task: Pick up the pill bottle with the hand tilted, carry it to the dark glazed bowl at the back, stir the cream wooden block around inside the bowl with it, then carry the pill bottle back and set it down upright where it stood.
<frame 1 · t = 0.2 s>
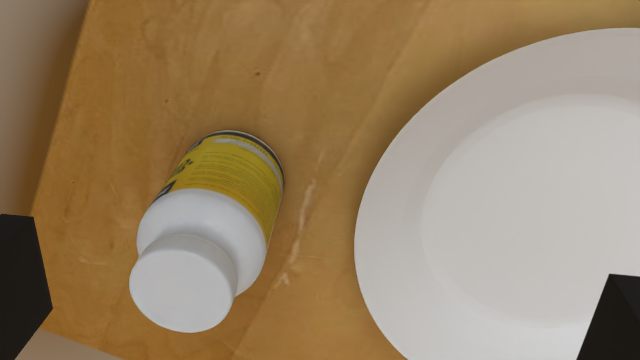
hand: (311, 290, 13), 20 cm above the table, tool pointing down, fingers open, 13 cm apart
white plate: (555, 217, 35), on the table
pill bottle: (236, 173, 35), on the table
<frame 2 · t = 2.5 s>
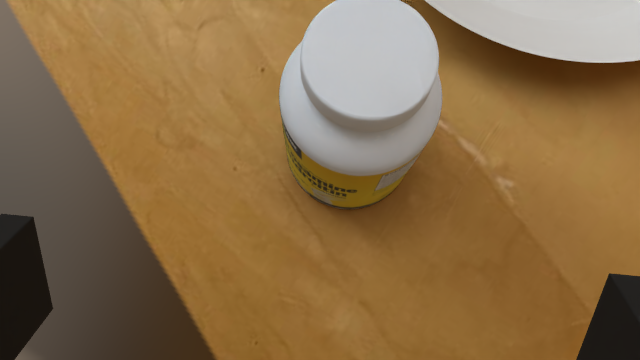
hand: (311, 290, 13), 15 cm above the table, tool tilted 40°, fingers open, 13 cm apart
pill bottle: (347, 154, 30), on the table
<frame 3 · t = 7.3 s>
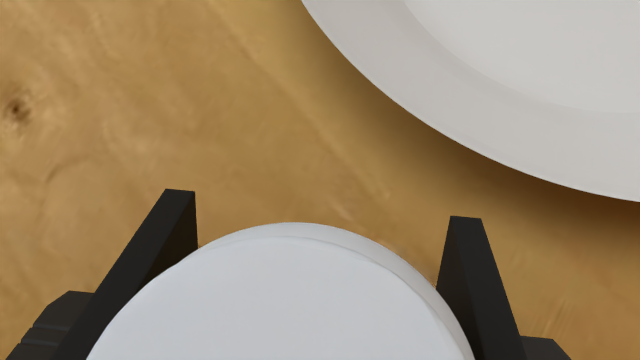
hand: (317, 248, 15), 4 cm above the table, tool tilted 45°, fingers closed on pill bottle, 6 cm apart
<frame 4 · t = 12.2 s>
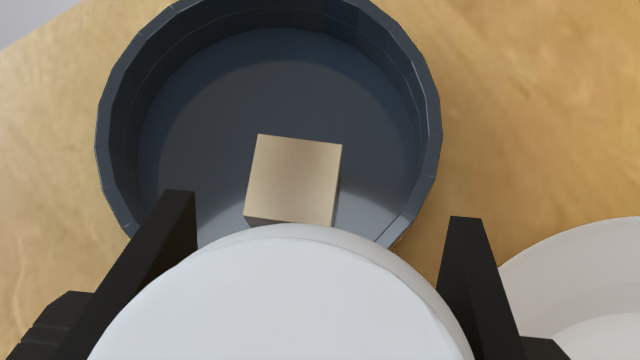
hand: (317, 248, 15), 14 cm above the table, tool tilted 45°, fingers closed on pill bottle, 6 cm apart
glazed bowl: (276, 153, 31), on the table
block: (298, 201, 29), point 1 cm above the table, touching glazed bowl
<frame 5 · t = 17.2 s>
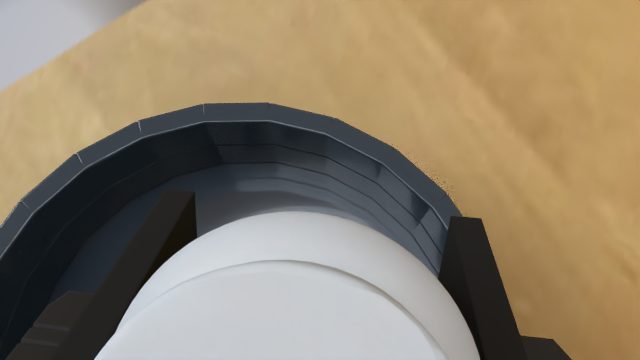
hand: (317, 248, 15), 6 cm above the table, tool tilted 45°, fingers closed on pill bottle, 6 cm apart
pill bottle: (312, 340, 17), point 3 cm above the table, touching block, gripper
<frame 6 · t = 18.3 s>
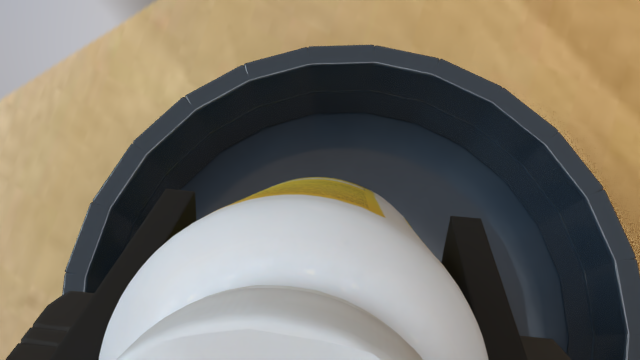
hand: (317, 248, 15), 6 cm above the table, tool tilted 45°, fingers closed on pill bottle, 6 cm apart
glazed bowl: (346, 313, 20), on the table
pill bottle: (321, 278, 17), point 3 cm above the table, touching gripper
when the fingers open (4 cm above the table, at t = 27.7 s): pill bottle stays where it is, on the table.
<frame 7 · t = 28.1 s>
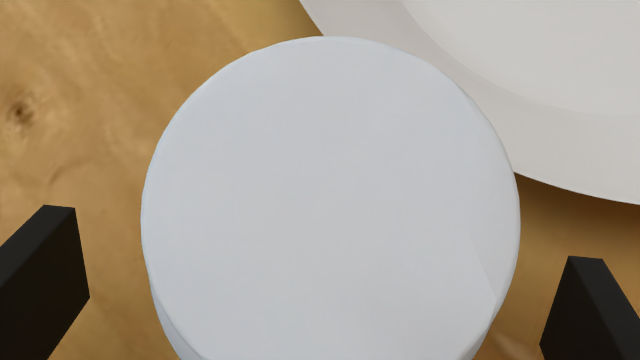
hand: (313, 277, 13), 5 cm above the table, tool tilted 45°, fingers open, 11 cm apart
pill bottle: (322, 278, 18), on the table
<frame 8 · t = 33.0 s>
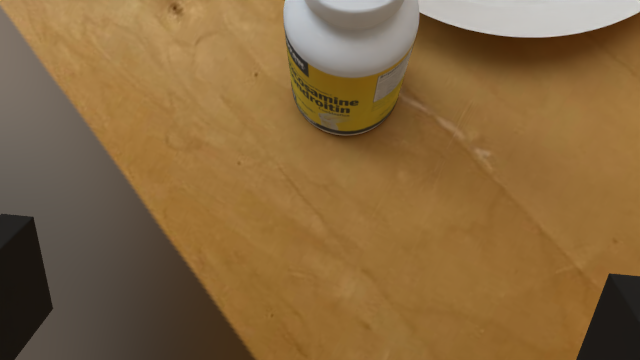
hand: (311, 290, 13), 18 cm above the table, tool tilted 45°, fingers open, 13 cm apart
pill bottle: (345, 92, 34), on the table
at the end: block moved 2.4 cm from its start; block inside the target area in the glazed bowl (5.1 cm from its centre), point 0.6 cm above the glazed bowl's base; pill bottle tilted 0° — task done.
